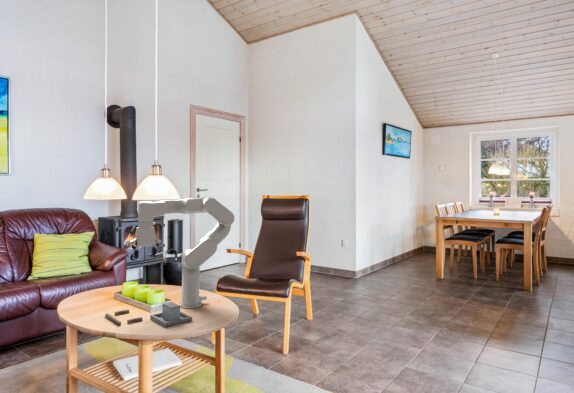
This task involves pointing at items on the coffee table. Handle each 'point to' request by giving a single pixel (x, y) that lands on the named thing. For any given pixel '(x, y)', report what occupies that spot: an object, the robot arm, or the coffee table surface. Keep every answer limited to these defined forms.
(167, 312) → the grey rectangular block
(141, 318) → the set of brown sticks
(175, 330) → the coffee table surface
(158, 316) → the tray
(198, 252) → the robot arm
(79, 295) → the coffee table surface
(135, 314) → the coffee table surface
